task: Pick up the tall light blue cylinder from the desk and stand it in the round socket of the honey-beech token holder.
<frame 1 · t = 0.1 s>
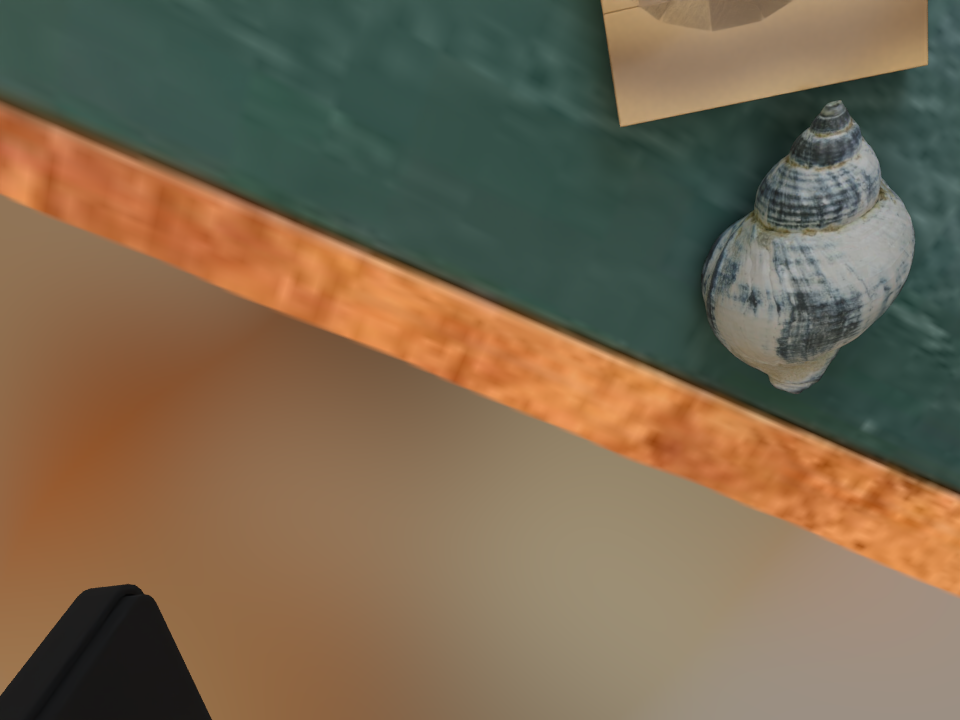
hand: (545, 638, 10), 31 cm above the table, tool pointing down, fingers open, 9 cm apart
seashell: (794, 240, 39), on the table
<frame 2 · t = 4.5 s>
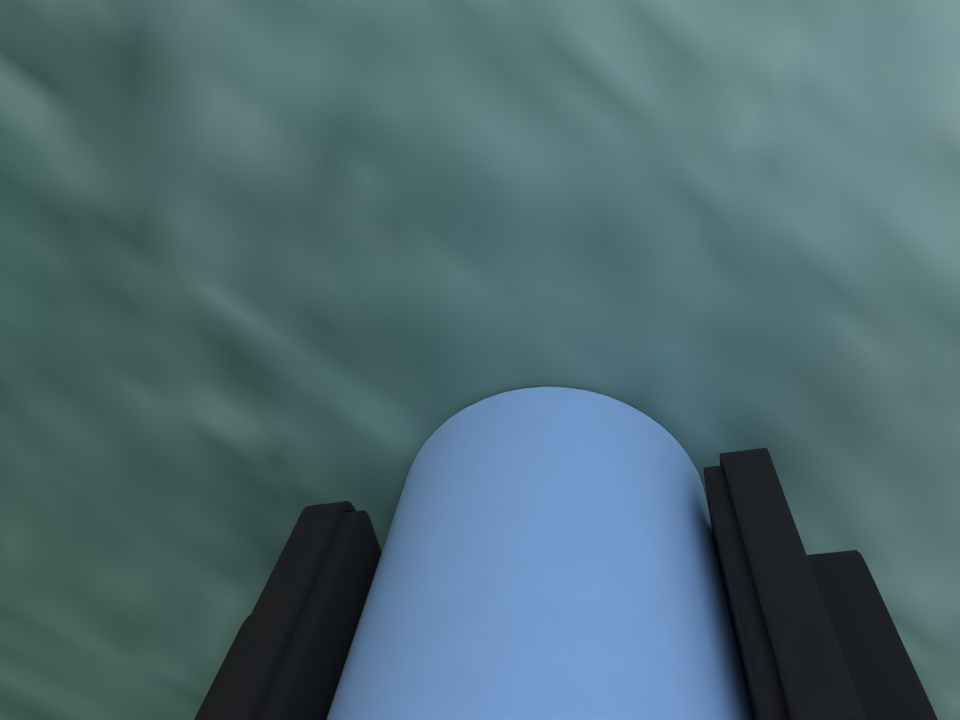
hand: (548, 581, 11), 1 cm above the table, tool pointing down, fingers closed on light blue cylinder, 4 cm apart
light blue cylinder: (552, 517, 12), on the table, touching gripper
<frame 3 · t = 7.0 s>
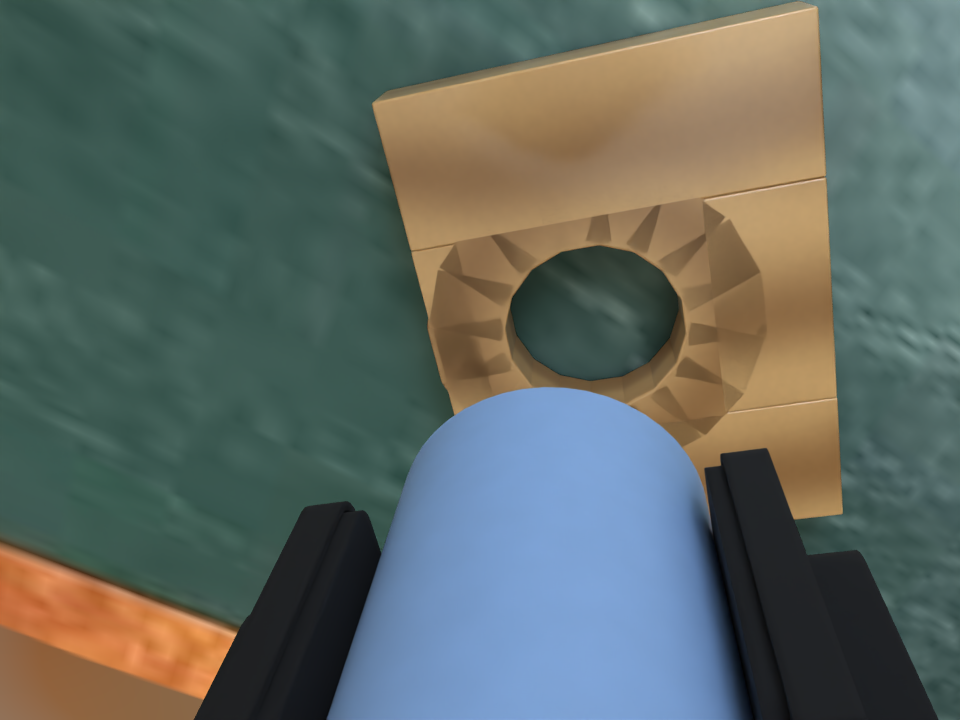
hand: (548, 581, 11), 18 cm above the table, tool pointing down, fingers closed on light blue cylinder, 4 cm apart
token holder: (623, 301, 28), on the table
light blue cylinder: (552, 518, 12), point 16 cm above the table, touching gripper
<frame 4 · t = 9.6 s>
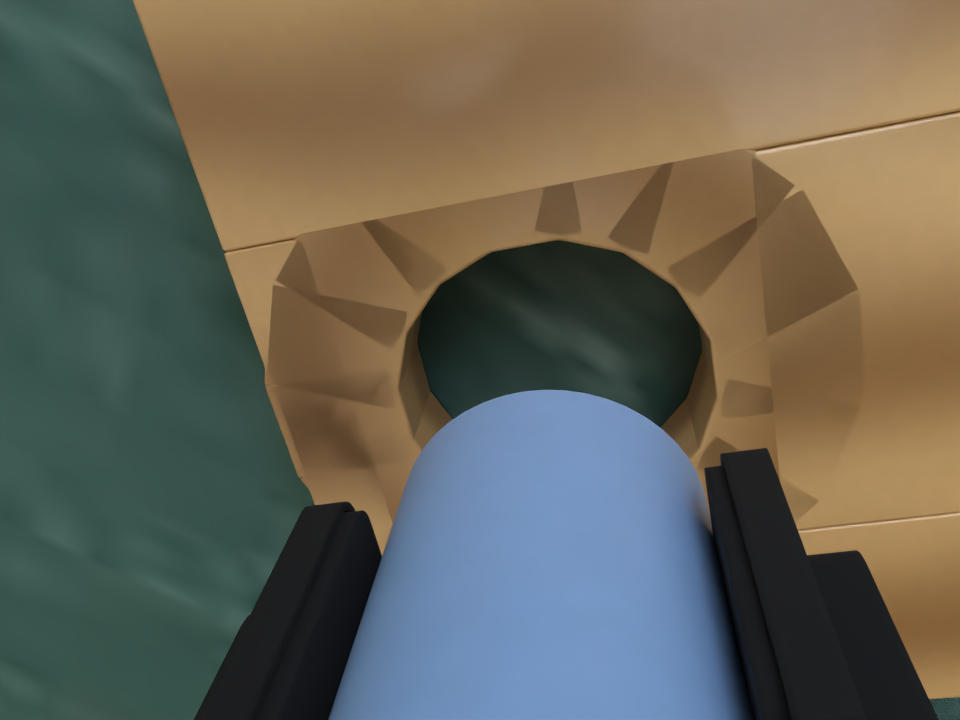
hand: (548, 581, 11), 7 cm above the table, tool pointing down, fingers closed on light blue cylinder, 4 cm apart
token holder: (608, 337, 16), on the table
light blue cylinder: (552, 520, 12), point 5 cm above the table, touching gripper
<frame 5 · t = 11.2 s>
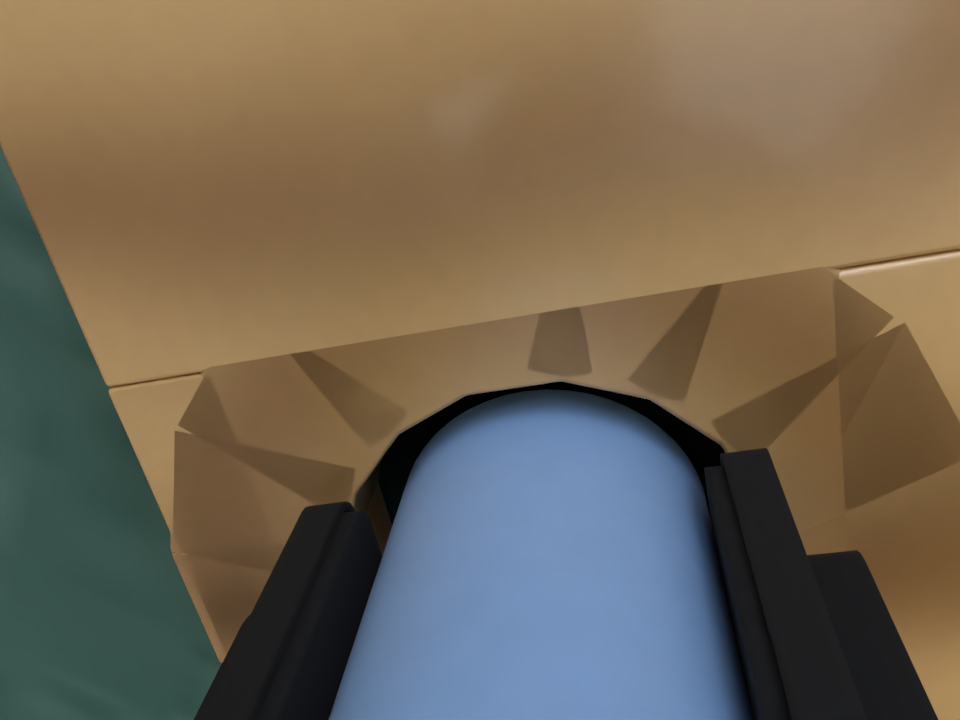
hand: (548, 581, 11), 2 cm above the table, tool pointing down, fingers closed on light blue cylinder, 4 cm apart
token holder: (625, 479, 13), on the table
light blue cylinder: (552, 520, 12), point 1 cm above the table, touching gripper
when the fingers open (2 cm above the table, at t = 14.7 s): light blue cylinder drops 1 cm, resting in token holder.
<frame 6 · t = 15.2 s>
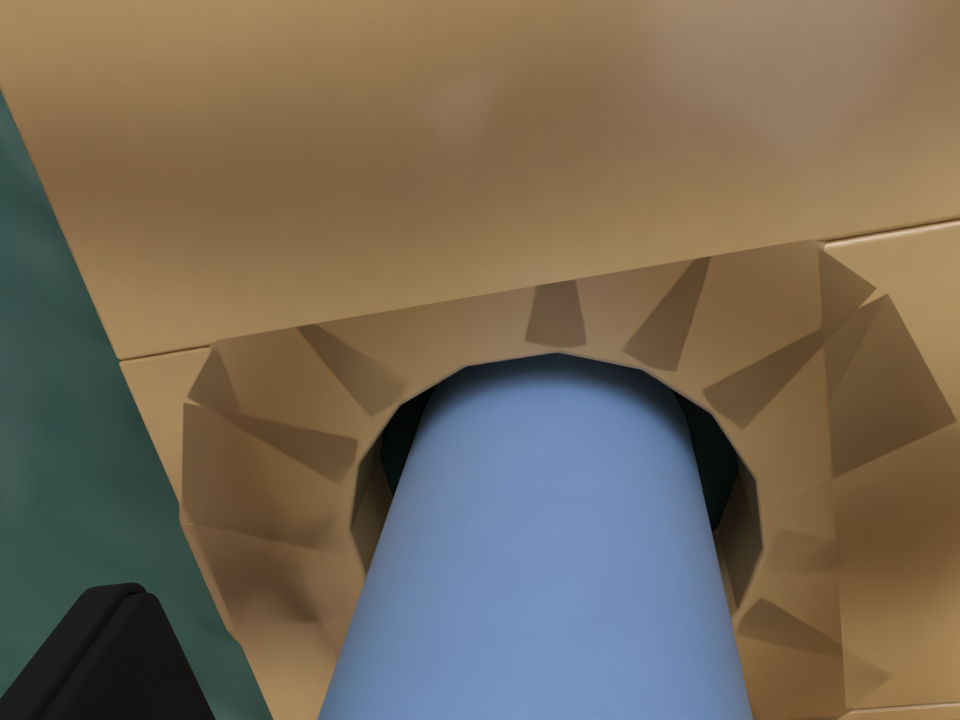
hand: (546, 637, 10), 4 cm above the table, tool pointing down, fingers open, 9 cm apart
token holder: (620, 452, 13), on the table
light blue cylinder: (552, 454, 13), resting in token holder
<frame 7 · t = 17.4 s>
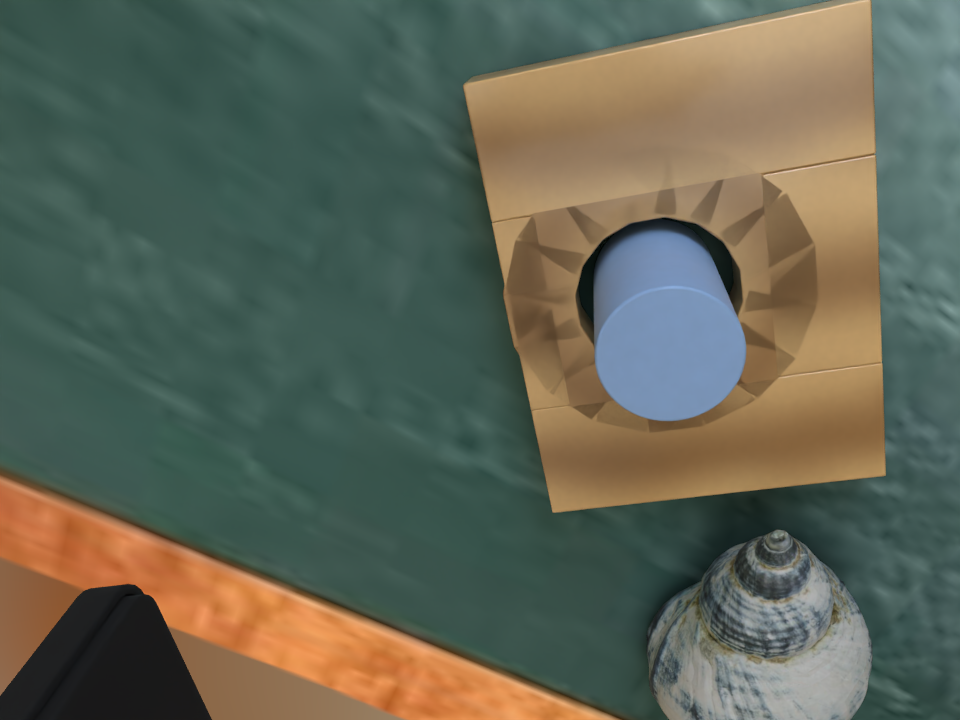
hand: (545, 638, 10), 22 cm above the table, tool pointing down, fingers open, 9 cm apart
token holder: (682, 274, 30), on the table
seashell: (747, 603, 36), on the table
light blue cylinder: (652, 276, 30), resting in token holder
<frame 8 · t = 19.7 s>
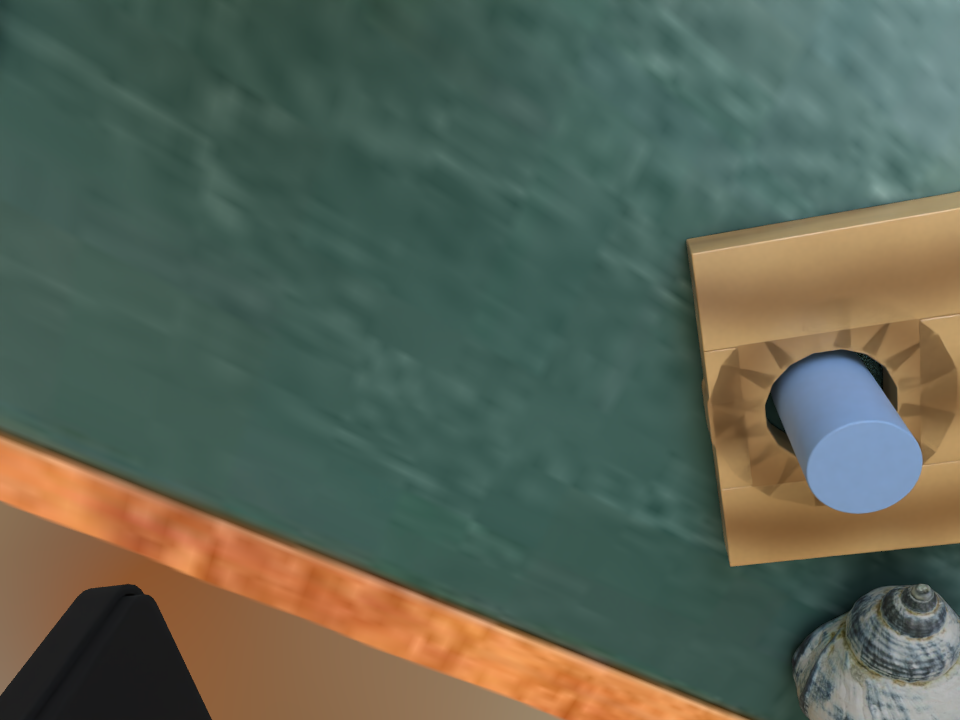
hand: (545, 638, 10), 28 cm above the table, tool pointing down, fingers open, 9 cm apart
token holder: (842, 383, 39), on the table
seashell: (875, 632, 45), on the table
light blue cylinder: (818, 384, 39), resting in token holder
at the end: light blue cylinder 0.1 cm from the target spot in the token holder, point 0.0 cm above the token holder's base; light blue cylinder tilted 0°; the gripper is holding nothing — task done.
